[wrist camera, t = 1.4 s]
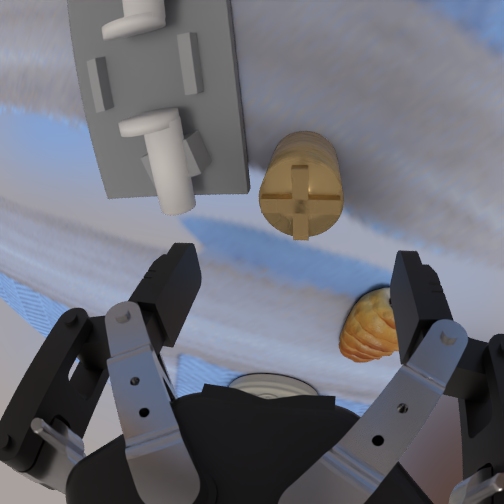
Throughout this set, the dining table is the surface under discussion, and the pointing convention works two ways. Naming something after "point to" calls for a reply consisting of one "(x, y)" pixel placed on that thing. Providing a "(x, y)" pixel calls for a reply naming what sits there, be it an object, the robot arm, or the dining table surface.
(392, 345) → the pastry
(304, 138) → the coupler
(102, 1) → the shaft rig
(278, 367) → the dining table surface
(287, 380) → the jar
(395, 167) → the dining table surface
